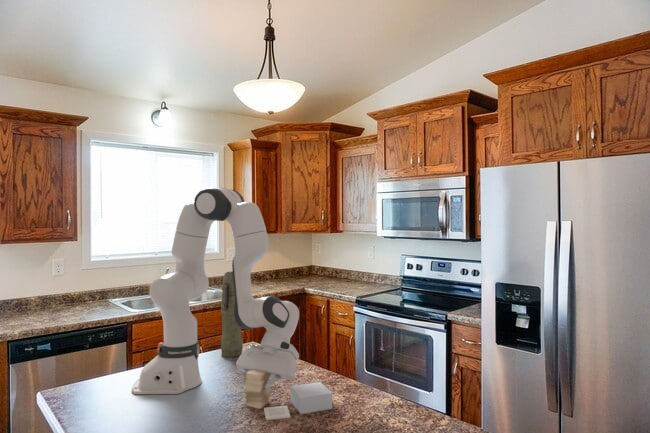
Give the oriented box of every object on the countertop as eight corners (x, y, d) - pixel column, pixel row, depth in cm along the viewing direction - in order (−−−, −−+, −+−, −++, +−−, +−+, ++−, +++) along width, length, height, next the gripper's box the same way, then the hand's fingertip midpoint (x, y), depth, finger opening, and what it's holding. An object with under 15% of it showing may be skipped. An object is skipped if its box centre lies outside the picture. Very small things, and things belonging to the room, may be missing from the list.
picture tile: (266, 420, 126) (266, 417, 126) (263, 409, 133) (263, 407, 133) (290, 417, 127) (290, 414, 127) (287, 407, 134) (287, 405, 134)
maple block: (260, 408, 133) (260, 375, 133) (246, 405, 135) (246, 373, 136) (268, 402, 138) (269, 370, 138) (255, 399, 140) (255, 368, 140)
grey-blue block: (300, 415, 130) (300, 397, 130) (290, 402, 139) (290, 386, 139) (332, 409, 133) (332, 393, 133) (320, 397, 143) (320, 381, 143)
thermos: (247, 351, 191) (247, 270, 192) (234, 360, 180) (235, 274, 180) (229, 350, 194) (229, 270, 194) (215, 358, 182) (215, 273, 183)
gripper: (243, 338, 147) (224, 377, 139) (297, 346, 139) (281, 387, 130) (251, 348, 151) (233, 386, 143) (303, 356, 143) (288, 397, 134)
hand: (256, 387), depth 136 cm, fingers closed on maple block, 5 cm apart
